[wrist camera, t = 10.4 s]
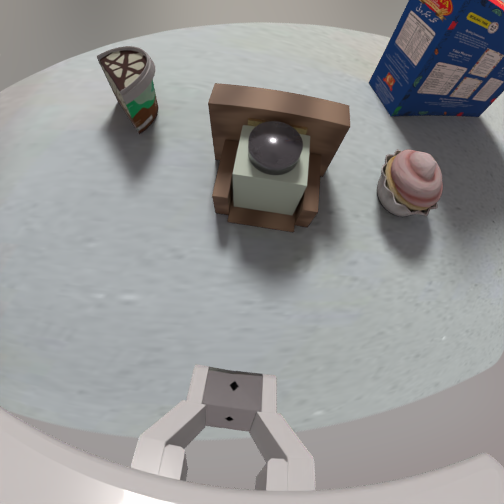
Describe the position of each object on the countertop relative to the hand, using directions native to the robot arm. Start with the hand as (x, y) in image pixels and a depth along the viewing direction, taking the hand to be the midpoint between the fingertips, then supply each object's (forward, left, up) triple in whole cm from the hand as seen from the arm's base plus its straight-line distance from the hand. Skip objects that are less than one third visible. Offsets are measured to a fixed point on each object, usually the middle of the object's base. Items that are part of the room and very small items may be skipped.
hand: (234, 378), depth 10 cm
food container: (-19, +30, -22) cm, 42 cm away
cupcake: (+19, +21, -22) cm, 36 cm away
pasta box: (+30, +46, -22) cm, 59 cm away
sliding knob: (+1, +18, -21) cm, 28 cm away
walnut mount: (+1, +18, -21) cm, 28 cm away
